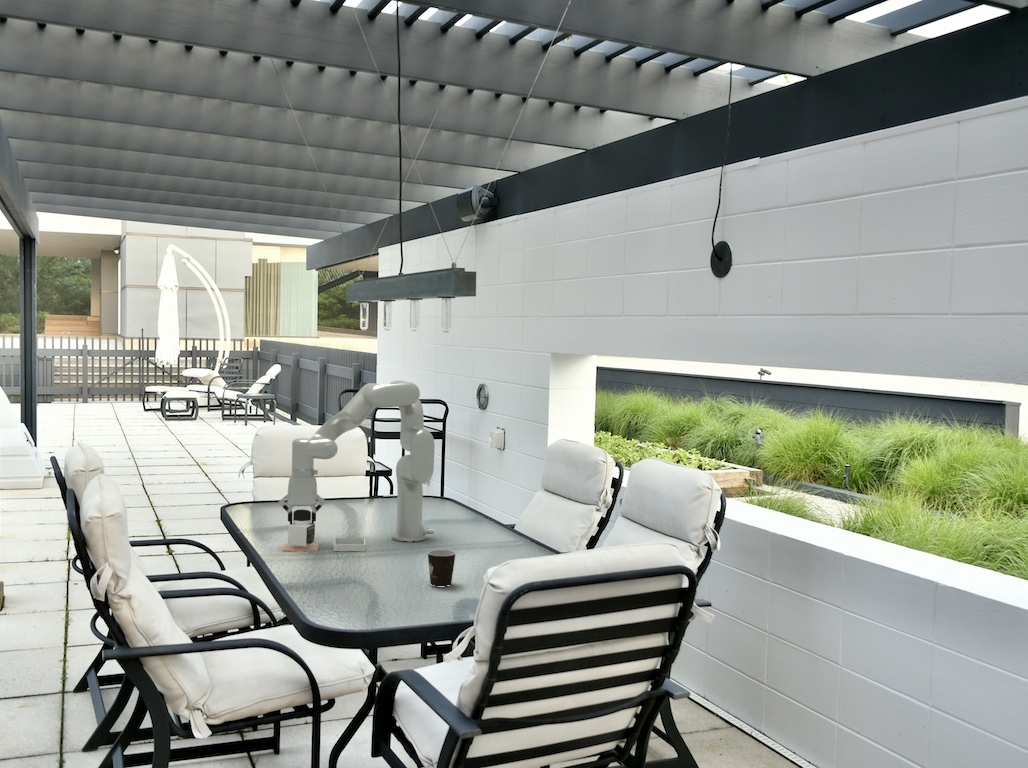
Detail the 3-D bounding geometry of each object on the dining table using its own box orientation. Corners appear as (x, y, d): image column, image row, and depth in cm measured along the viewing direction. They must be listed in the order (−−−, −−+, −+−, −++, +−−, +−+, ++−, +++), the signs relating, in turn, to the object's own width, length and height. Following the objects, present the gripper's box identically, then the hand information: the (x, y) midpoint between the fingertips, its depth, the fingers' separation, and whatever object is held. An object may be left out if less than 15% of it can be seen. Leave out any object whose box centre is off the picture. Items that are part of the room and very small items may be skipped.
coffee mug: (427, 580, 294) (428, 549, 293) (454, 581, 295) (455, 549, 294) (426, 591, 282) (427, 558, 282) (454, 591, 283) (455, 558, 282)
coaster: (318, 545, 338) (318, 543, 338) (317, 551, 328) (317, 549, 328) (284, 545, 336) (284, 543, 336) (282, 551, 326) (282, 550, 326)
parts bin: (364, 544, 341) (365, 537, 341) (365, 551, 330) (365, 544, 330) (334, 544, 339) (334, 537, 339) (333, 551, 329) (333, 544, 328)
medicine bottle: (306, 546, 328) (307, 512, 327) (287, 545, 329) (288, 511, 329) (314, 542, 335) (315, 509, 334) (295, 540, 336) (297, 507, 336)
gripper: (328, 472, 336) (327, 521, 337) (278, 471, 333) (277, 521, 334) (327, 475, 329) (326, 525, 329) (276, 475, 326) (275, 525, 327)
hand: (301, 523), depth 332 cm, fingers closed on medicine bottle, 6 cm apart
